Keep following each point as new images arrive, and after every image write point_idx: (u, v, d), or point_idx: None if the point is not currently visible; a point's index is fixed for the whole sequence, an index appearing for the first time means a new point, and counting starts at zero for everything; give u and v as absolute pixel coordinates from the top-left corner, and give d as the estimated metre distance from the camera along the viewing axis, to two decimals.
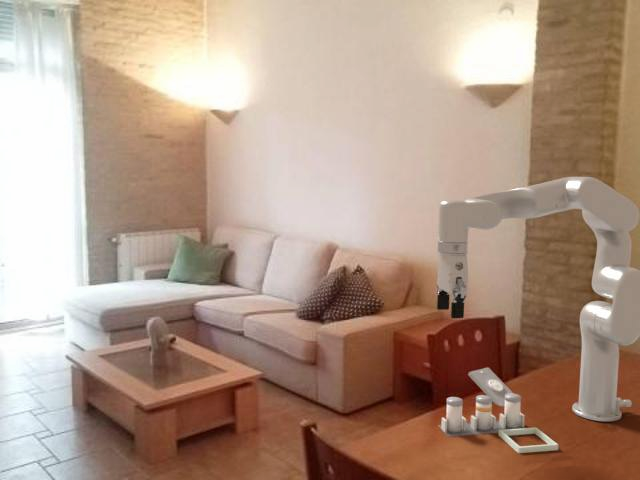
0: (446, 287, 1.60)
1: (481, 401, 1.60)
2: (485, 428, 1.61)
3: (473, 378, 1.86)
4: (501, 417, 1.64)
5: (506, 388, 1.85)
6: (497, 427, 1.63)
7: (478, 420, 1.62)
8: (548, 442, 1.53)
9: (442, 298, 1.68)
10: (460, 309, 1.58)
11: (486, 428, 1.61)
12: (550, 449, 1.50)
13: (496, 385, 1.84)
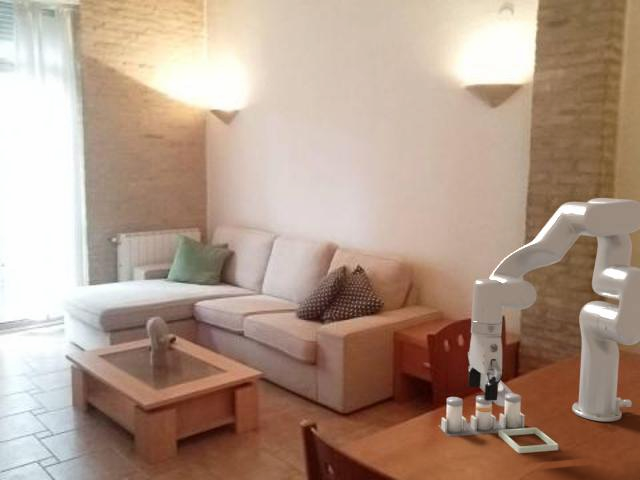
0: (480, 368, 1.58)
1: (481, 401, 1.60)
2: (485, 428, 1.61)
3: None
4: (501, 417, 1.64)
5: (506, 388, 1.85)
6: (497, 427, 1.63)
7: (478, 420, 1.62)
8: (548, 442, 1.53)
9: (473, 376, 1.66)
10: (494, 391, 1.56)
11: (486, 428, 1.61)
12: (550, 449, 1.50)
13: None
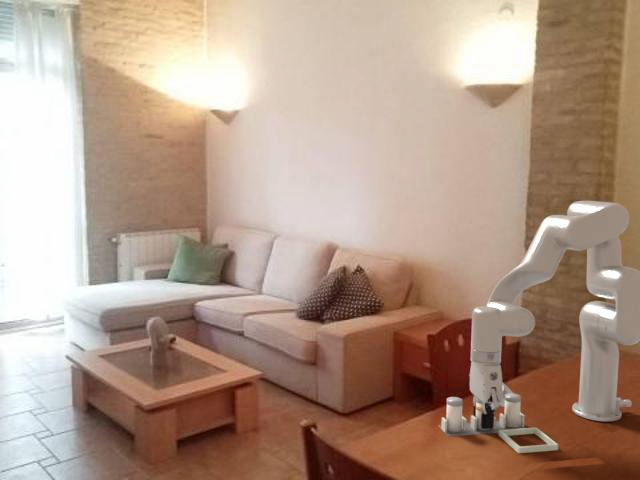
0: (480, 395, 1.59)
1: (481, 401, 1.60)
2: None
3: None
4: (501, 417, 1.64)
5: (507, 388, 1.85)
6: (497, 427, 1.63)
7: (478, 420, 1.62)
8: (548, 442, 1.53)
9: None
10: (490, 420, 1.59)
11: None
12: (550, 449, 1.50)
13: None
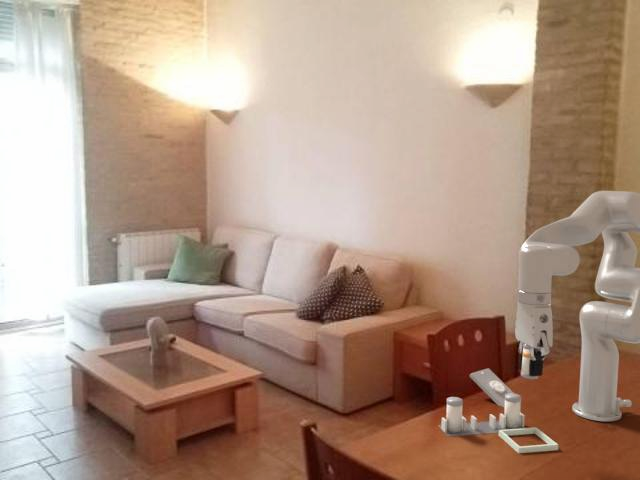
0: (529, 340, 1.49)
1: (529, 347, 1.50)
2: (533, 376, 1.51)
3: (475, 379, 1.85)
4: (501, 417, 1.64)
5: (507, 389, 1.85)
6: (497, 427, 1.63)
7: (525, 367, 1.51)
8: (548, 442, 1.53)
9: None
10: (539, 367, 1.49)
11: (533, 376, 1.51)
12: (550, 449, 1.50)
13: (498, 386, 1.83)
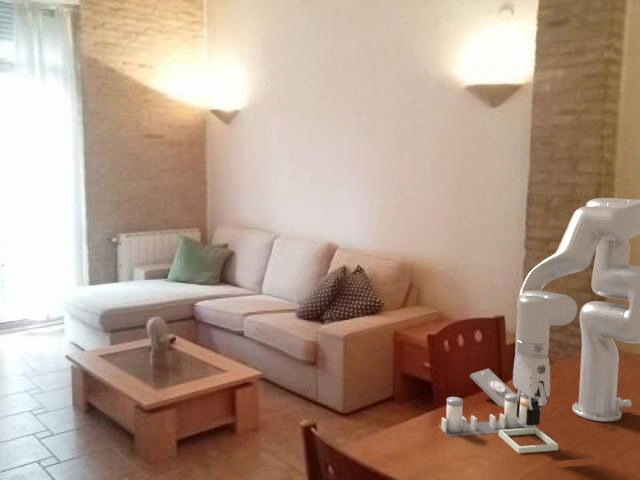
0: (526, 390, 1.50)
1: (527, 396, 1.51)
2: (530, 425, 1.52)
3: (475, 380, 1.84)
4: (501, 417, 1.64)
5: (508, 389, 1.85)
6: (497, 427, 1.63)
7: (522, 416, 1.52)
8: (548, 442, 1.53)
9: None
10: (536, 416, 1.50)
11: (530, 425, 1.52)
12: (550, 449, 1.50)
13: (498, 386, 1.83)
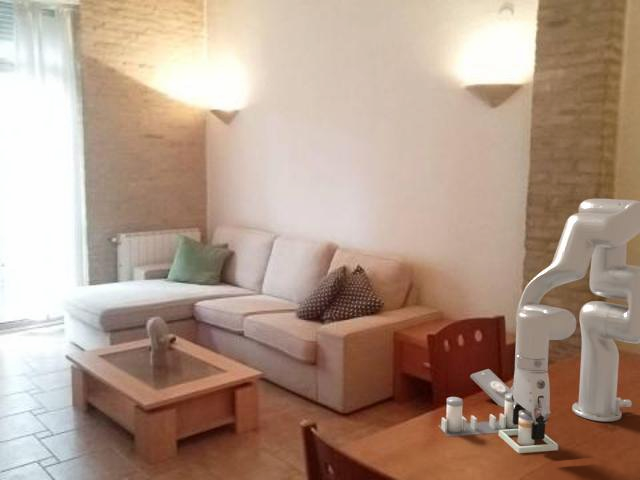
0: (526, 405, 1.50)
1: (525, 416, 1.52)
2: (529, 445, 1.53)
3: (476, 380, 1.84)
4: (501, 417, 1.64)
5: (508, 389, 1.84)
6: (497, 427, 1.63)
7: (521, 436, 1.53)
8: (548, 442, 1.53)
9: (518, 412, 1.58)
10: (541, 430, 1.49)
11: (530, 445, 1.53)
12: (550, 449, 1.50)
13: (499, 387, 1.83)
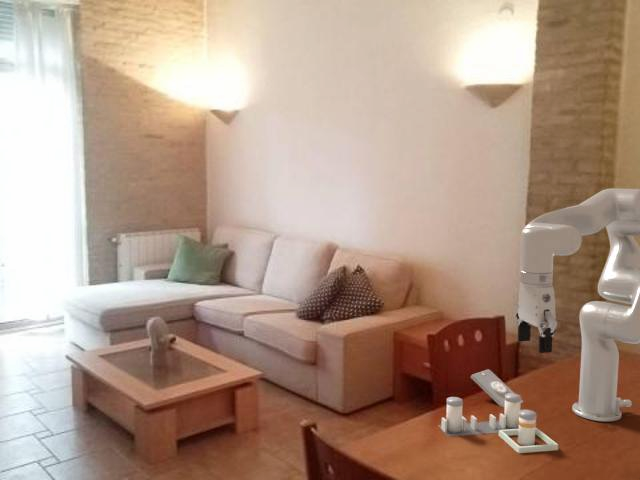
0: (532, 320, 1.51)
1: (525, 416, 1.52)
2: (529, 445, 1.53)
3: (476, 381, 1.84)
4: (501, 417, 1.64)
5: (509, 390, 1.84)
6: (497, 427, 1.63)
7: (521, 436, 1.53)
8: (548, 442, 1.53)
9: (523, 329, 1.59)
10: (549, 343, 1.49)
11: (530, 445, 1.53)
12: (550, 449, 1.50)
13: (499, 387, 1.82)
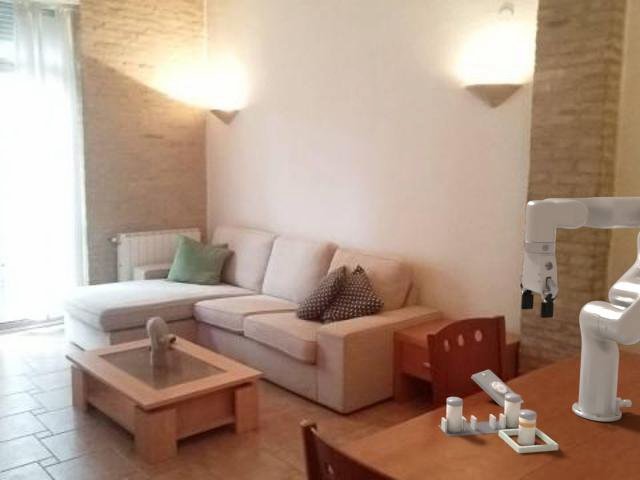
0: (535, 286, 1.61)
1: (525, 416, 1.52)
2: (529, 445, 1.53)
3: (477, 381, 1.83)
4: (501, 417, 1.64)
5: (509, 390, 1.84)
6: (497, 427, 1.63)
7: (521, 436, 1.53)
8: (548, 442, 1.53)
9: (527, 298, 1.69)
10: (550, 309, 1.59)
11: (530, 445, 1.53)
12: (550, 449, 1.50)
13: (500, 387, 1.82)
